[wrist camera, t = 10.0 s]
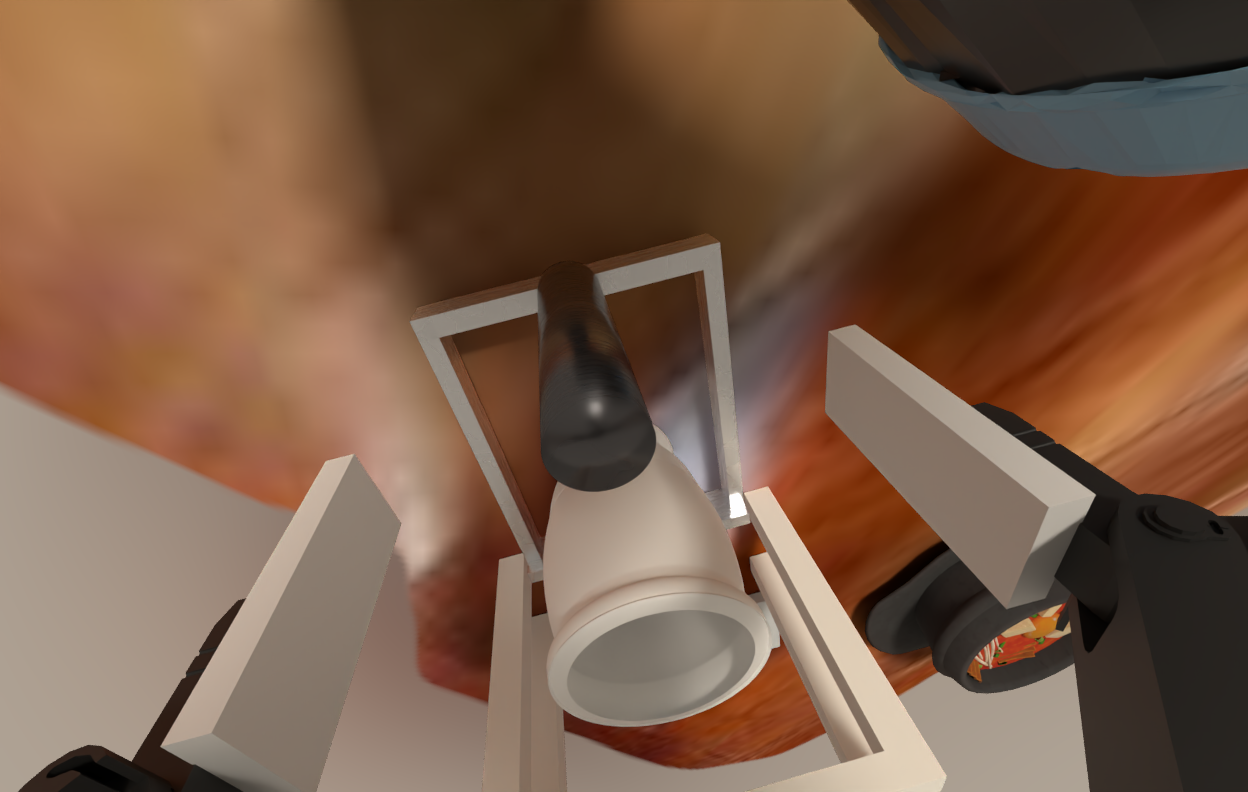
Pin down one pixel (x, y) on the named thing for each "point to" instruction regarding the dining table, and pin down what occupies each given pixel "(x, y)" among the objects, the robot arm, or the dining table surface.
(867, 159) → the dining table surface
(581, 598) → the jar
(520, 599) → the open rectangular frame
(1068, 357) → the dining table surface
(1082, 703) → the robot arm
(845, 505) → the dining table surface
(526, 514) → the picture frame
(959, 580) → the casserole
